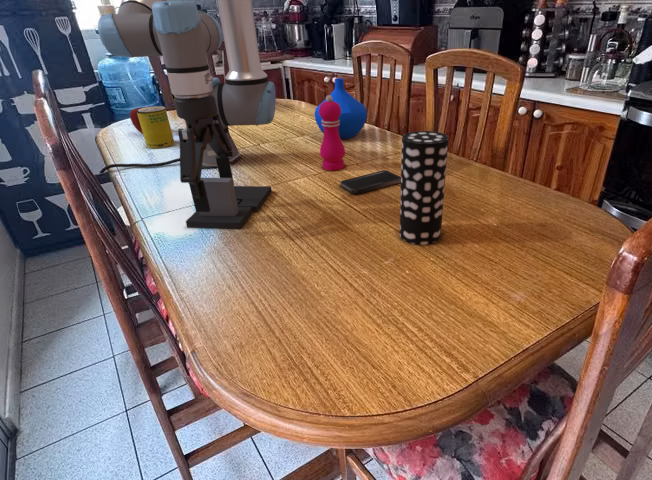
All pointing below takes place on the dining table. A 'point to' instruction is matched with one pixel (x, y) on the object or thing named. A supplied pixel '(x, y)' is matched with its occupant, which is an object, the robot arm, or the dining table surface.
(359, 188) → the phone
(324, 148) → the pepper mill
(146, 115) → the yellow can
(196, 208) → the robot arm
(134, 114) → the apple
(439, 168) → the spotted tube
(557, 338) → the dining table surface
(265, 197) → the notch pad
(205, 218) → the tab pad
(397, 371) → the dining table surface
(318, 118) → the vase
